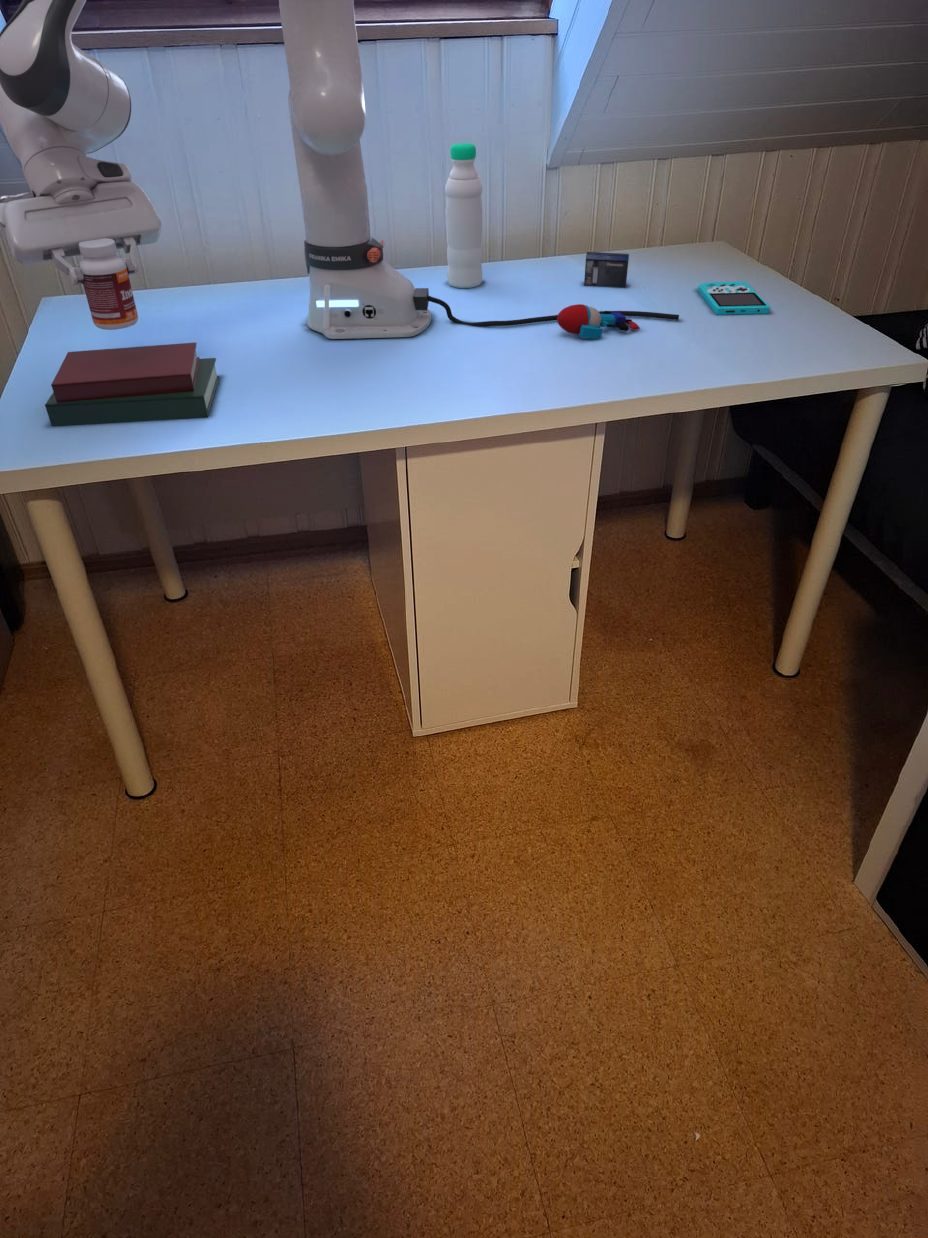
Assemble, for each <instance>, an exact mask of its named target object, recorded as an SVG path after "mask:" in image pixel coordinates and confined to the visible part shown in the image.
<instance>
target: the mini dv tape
mask: <svg viewBox="0 0 928 1238" xmlns="http://www.w3.org/2000/svg"><path fill="white" fill-rule="evenodd" d="M629 259H630V254H629V253H623V252H622V253H619V252H602V251H601V252H598V251H586V254H585V267H584V278H583V279H584V281H583V286H586V287H605V288H622V289H623V288H626V287H627V281H628V268H629V261H630V260H629Z"/></svg>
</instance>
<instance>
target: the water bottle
mask: <svg viewBox="0 0 928 1238" xmlns="http://www.w3.org/2000/svg"><path fill="white" fill-rule="evenodd" d="M449 151H450V159H451V160H450V161H451V162H452V168H451V169H450V172H449V175H448V176H449V177H447V181H446V182H445V187H444V188H445V189H444V190H445V195H446V197H445V230H446V231H445V232H446V242H447V248H446V262H447V271H446V273H447V274H446V278H447V283H448V285H449V286H451V287H453V288H457V289H472V288H476V287H478V286H480V285H481V284H482V282H483V267H482V265H483V264H482V263H483V248H482V242H483V241H482V240H483V203H482V193H483V185H482V182H481V180H480V177H479V176H478V172H477V170H476V168H475V164H474V163H475V161H476V158H477V148H476V145H474V144H473V143H467V142H459V143H454V144H451V146H450V150H449Z"/></svg>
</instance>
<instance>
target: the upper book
mask: <svg viewBox="0 0 928 1238" xmlns="http://www.w3.org/2000/svg"><path fill="white" fill-rule="evenodd" d="M197 344H198V343H197V342H196V341H195V342H185V343H171V344H170V343H169V344H159V345H158V344H156V345H155V344H154V345H142V346H131V347H128V346H127V347H116V348H101V349H90V350H89V349H88V350H76V351H74V350H73V351H68V352H67V353H66V355H65V357H64V359H63V361H62V363H61V365H60V367H59V369H58V371H57V372H56V375H55V377H54V379H53V381H52V382H51V389H52V393H53V392H54V395H55V398H56V402H68V401H80V400H92V399H104V398H117V397H129V396H141V395H153V394H166V393H178V392H190V391H194V389H195V383H196V377H197V372H198V366H199V360H200V359H201V358H200V356H198V354H197Z"/></svg>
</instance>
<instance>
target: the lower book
mask: <svg viewBox="0 0 928 1238" xmlns="http://www.w3.org/2000/svg"><path fill="white" fill-rule="evenodd" d="M216 362H217V357H210V358H209V357H207V358H206V357H205V358H200V360H199V366H198V372H197V377H196V383H195V389H194V391H190V392H178V393H166V394H153V395H141V396H129V397H117V398H104V399H92V400H80V401H68V402H56V398H55V395H54V392H53V391H52V394H51V395H50V396H49V398H48V399H47V400H46V402H45V404H44V407H45V410H46V413H47V416H48V419H49V423H50V425H51V427H56V426H57V427H59V426H75V425H92V424H93V425H94V424H107V423H108V424H110V423H127V422H142V421H143V422H145V421H162V420H177V419H179V420H180V419H196V418H208V417H209V414H210V411H211V407H212V404H213V402H214V397H215V394H216V390H217V387H218V384H219V381H220V375H218V374H217V369H216Z"/></svg>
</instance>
